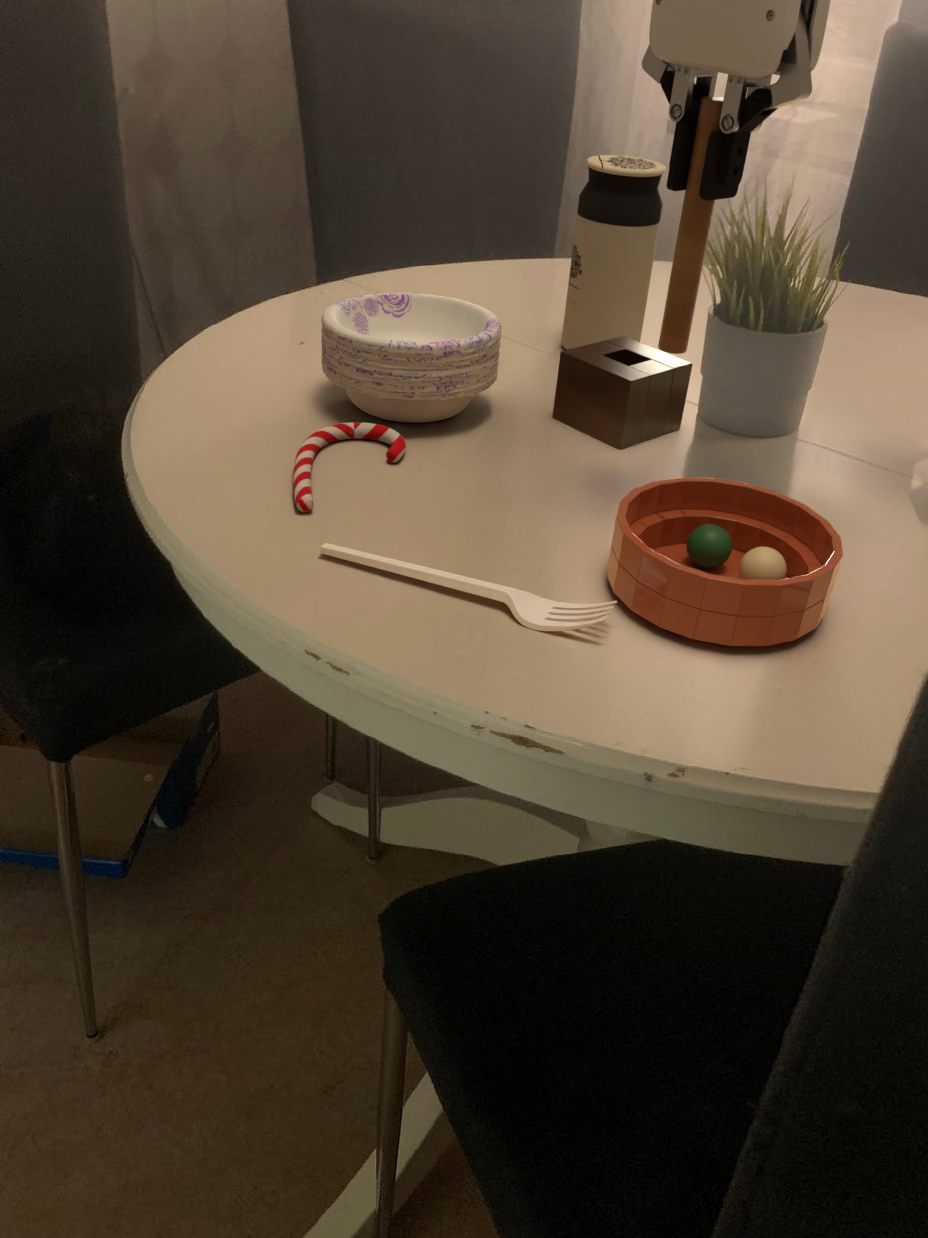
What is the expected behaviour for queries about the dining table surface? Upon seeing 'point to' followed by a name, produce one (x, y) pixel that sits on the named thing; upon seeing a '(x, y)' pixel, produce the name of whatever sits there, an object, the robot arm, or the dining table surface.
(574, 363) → the holder
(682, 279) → the stick
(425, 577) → the fork
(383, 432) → the candy cane
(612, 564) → the bowl
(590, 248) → the travel mug
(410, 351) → the paper bowls
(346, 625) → the dining table surface
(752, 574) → the cream bead
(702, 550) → the green bead
